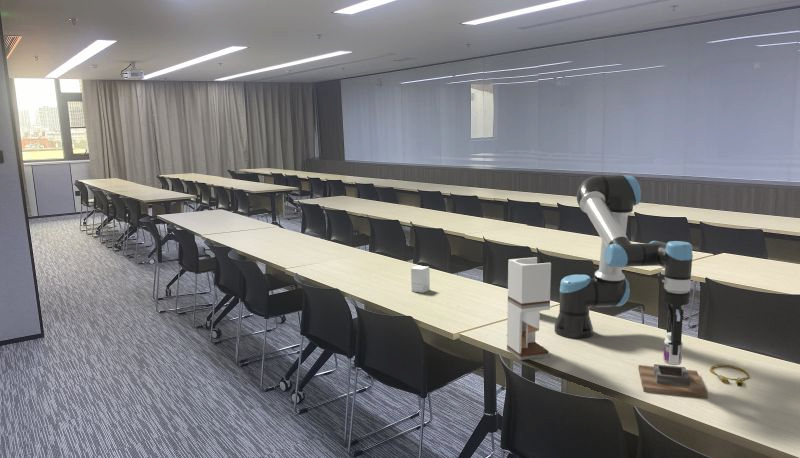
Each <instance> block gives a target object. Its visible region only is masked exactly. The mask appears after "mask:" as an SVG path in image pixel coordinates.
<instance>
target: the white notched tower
mask: <svg viewBox="0 0 800 458" xmlns="http://www.w3.org/2000/svg"><path fill="white" fill-rule="evenodd" d="M507 265H508V266H507V318H506V319H507V321H506V322H507V324H506V325H507V326H506V329H507V330H506V332H507V333H506V337H507V338H506V351H508V352H509V353H510V354H512V355H513V356H514V357H515V358H517V359H518V360H520V361H524V360H531V359H538V358H547V357H549V354H550V353H549V352H550V351H549V350H548V349H546V348H545V347H544V346H542V345H540V344H539V343H537V342H536V332H539V331H540V315H541V312H542V311H547V310H548V311H550V309H551V281H552V280H551V279H552V263H551V262H544V263H543V262H542V263H538V257H537V256H536V257H522V258H511V259H508V263H507ZM540 311H541V312H540Z"/></svg>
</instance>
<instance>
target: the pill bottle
mask: <svg viewBox="0 0 800 458" xmlns="http://www.w3.org/2000/svg"><path fill="white" fill-rule="evenodd" d="M668 343H671V332H668V333H667V332H666V338H665V339H664V341H663V355H662V356H663V357H662V358H663V360H662V361H663V362H664V363H665V365H668V366H677V365H676V364H669V353H670V345H669V344H668ZM683 344H684V343H683V341H682V340H681V345H680V350H679V365H680V366H681V364H682V362H683V361H682V360H683V359H682V357H683ZM679 365H678V366H679Z"/></svg>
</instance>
